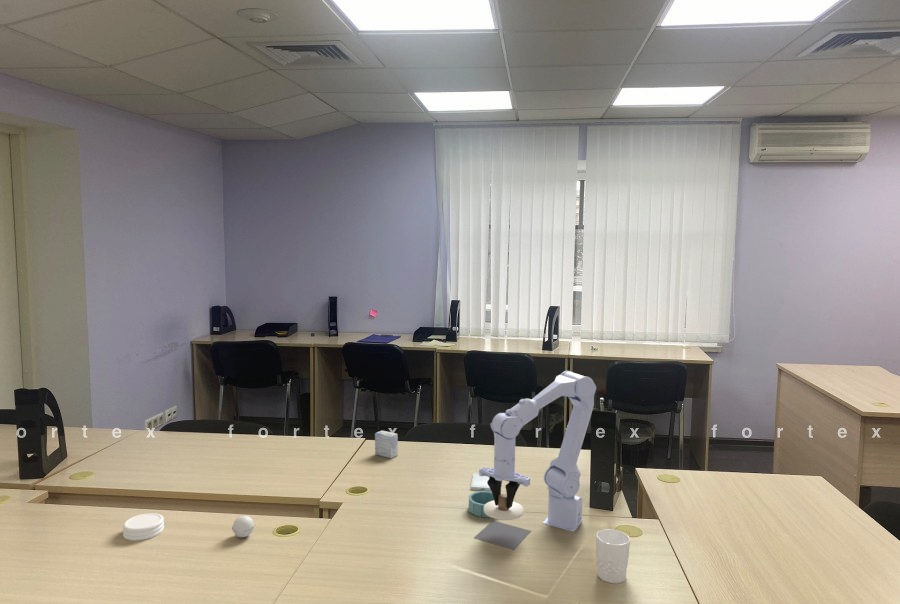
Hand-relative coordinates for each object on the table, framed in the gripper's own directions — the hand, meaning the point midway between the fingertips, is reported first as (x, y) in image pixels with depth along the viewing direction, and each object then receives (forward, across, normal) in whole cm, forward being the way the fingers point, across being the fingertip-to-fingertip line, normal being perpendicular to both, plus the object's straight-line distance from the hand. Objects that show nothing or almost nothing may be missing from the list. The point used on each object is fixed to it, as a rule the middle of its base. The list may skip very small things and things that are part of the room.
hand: (503, 505), depth 158 cm
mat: (+9, 0, 0) cm, 9 cm away
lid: (+2, 0, 0) cm, 2 cm away
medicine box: (+9, -65, +34) cm, 74 cm away
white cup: (+9, +31, -4) cm, 33 cm away
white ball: (+9, -60, -38) cm, 72 cm away
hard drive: (+10, -21, +30) cm, 38 cm away
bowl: (+9, -11, +11) cm, 18 cm away
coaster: (+9, -86, -50) cm, 100 cm away
